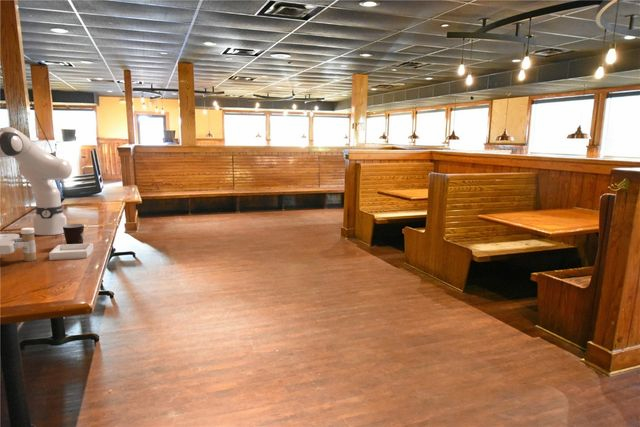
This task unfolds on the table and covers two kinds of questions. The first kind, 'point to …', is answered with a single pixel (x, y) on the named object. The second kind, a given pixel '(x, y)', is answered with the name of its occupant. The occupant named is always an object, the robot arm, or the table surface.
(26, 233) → the sprinkles bottle
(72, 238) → the coffee mug
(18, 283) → the table surface
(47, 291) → the table surface
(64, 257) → the tray
